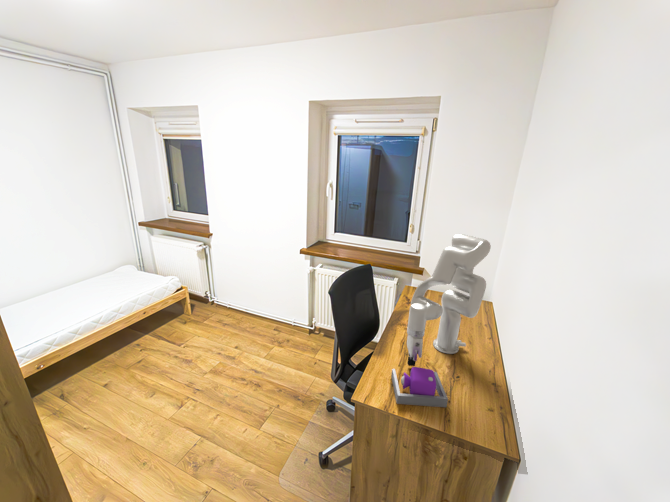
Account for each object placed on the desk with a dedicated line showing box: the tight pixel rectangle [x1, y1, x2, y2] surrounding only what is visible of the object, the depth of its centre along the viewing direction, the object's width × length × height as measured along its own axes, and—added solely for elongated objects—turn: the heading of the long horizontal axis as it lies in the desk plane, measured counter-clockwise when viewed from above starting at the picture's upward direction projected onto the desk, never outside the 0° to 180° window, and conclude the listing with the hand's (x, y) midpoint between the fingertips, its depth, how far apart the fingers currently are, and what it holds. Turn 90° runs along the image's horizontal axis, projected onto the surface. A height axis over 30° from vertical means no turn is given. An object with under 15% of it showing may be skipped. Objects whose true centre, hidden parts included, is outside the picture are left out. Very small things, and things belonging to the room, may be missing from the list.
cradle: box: [391, 368, 449, 408], centre depth 118 cm, size 19×15×4 cm
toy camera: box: [400, 366, 437, 396], centre depth 117 cm, size 11×14×10 cm
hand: (411, 364), depth 132 cm, fingers closed
